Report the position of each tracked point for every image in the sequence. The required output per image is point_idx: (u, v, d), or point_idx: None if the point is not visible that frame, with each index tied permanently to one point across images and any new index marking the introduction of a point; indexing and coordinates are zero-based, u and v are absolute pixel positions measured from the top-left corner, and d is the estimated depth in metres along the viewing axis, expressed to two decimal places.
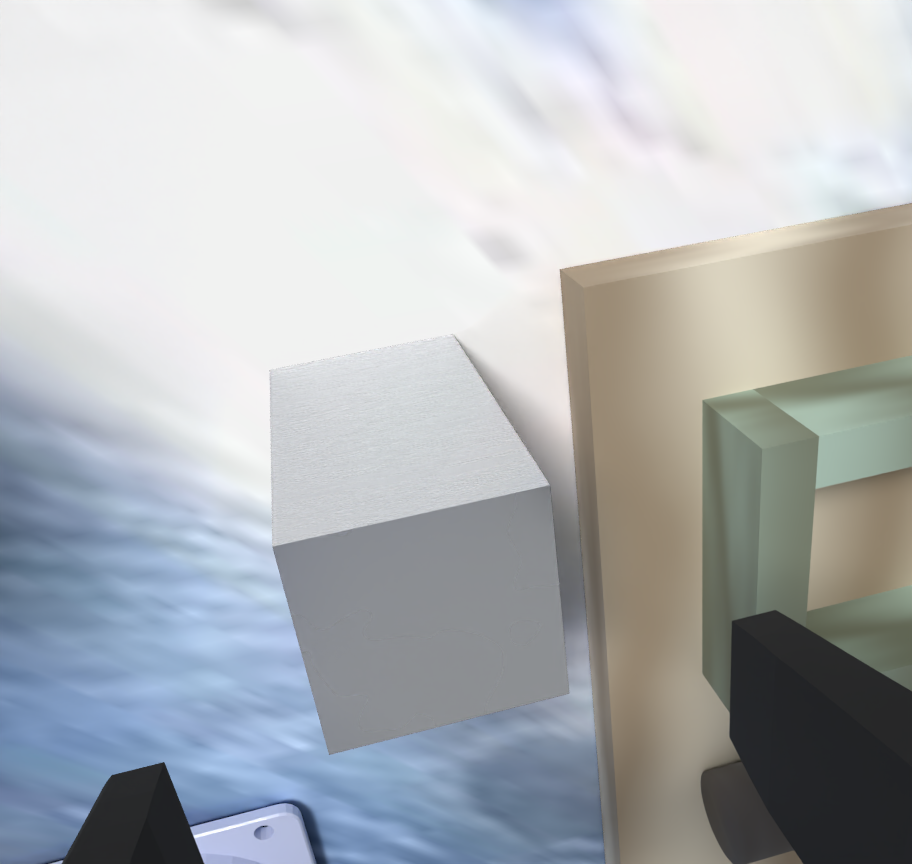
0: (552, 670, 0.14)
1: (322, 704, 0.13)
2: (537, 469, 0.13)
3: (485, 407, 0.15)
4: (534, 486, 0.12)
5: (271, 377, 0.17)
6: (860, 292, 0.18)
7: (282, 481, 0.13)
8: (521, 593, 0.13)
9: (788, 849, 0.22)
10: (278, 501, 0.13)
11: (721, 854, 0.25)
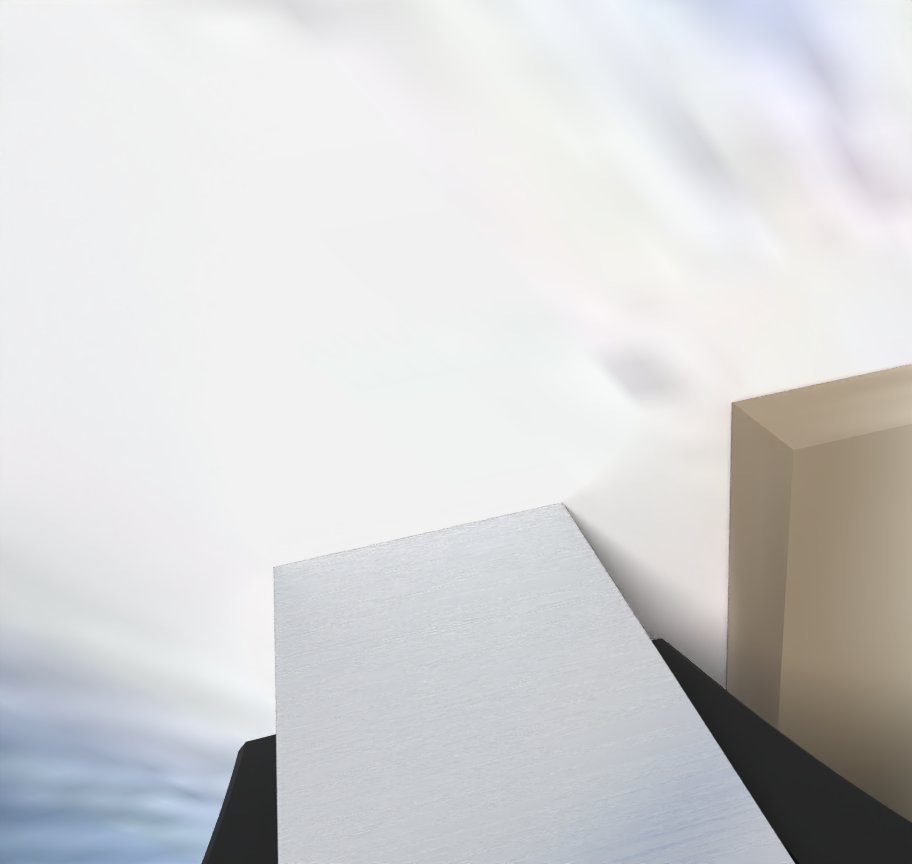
0: None
1: None
2: None
3: (670, 711, 0.08)
4: None
5: (276, 587, 0.11)
6: None
7: None
8: None
9: None
10: None
11: None
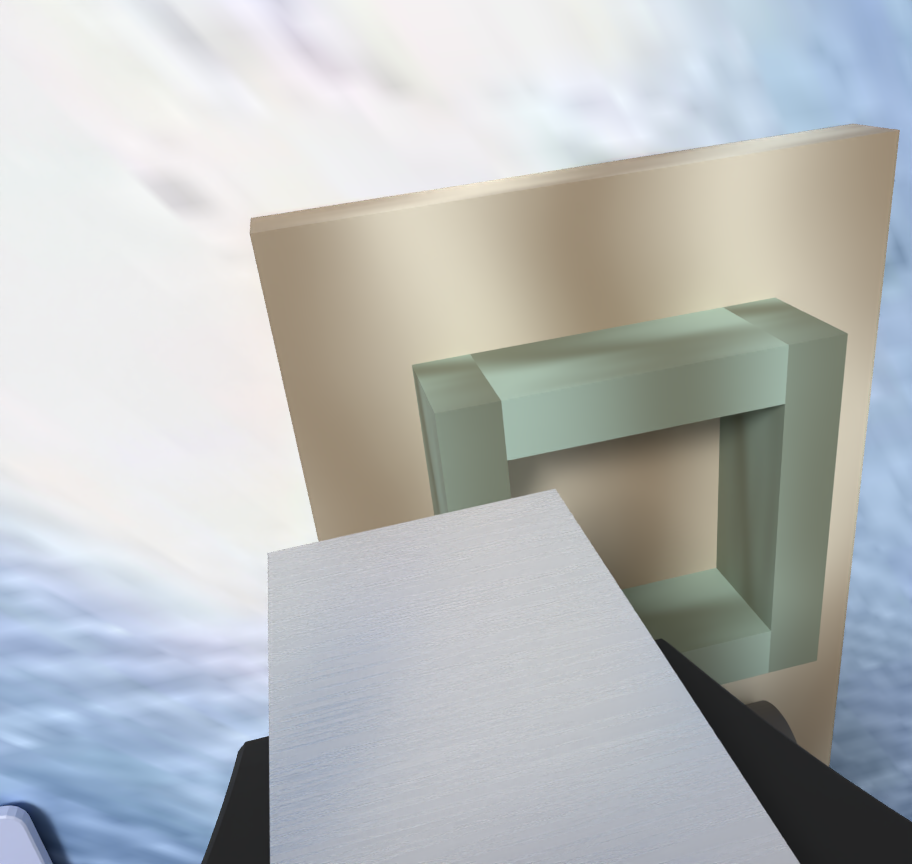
0: None
1: None
2: None
3: (659, 689, 0.08)
4: None
5: (270, 572, 0.11)
6: (580, 248, 0.17)
7: None
8: None
9: None
10: None
11: None
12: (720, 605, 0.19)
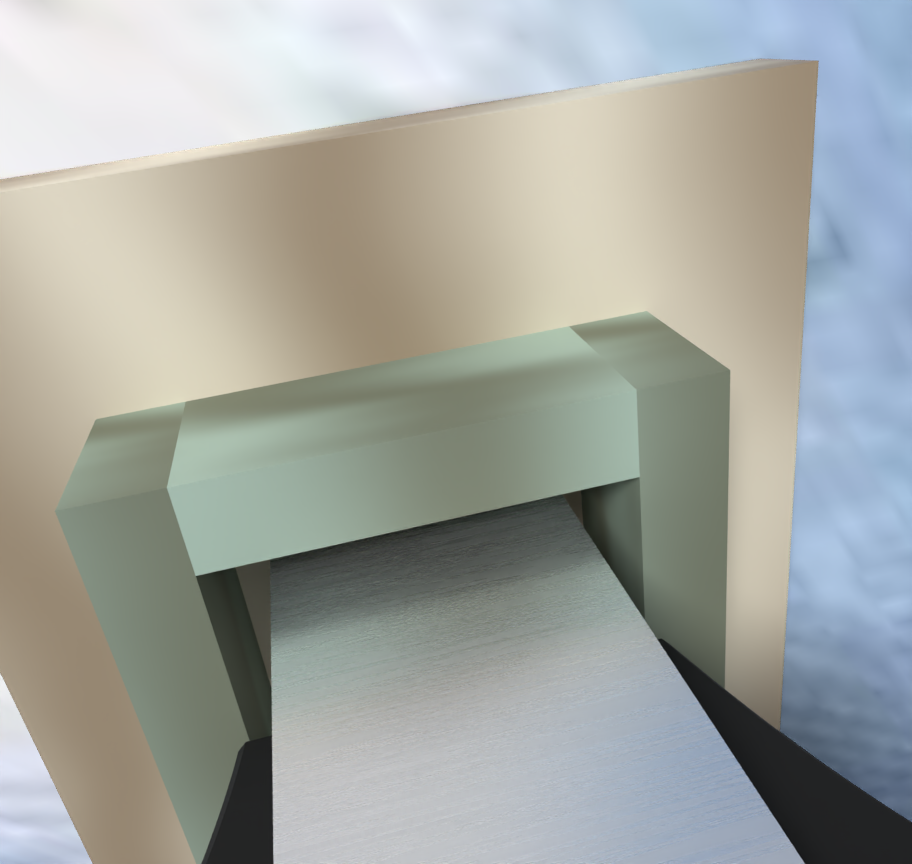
0: None
1: None
2: None
3: (662, 688, 0.08)
4: None
5: (273, 571, 0.11)
6: (337, 243, 0.11)
7: None
8: None
9: None
10: None
11: None
12: None
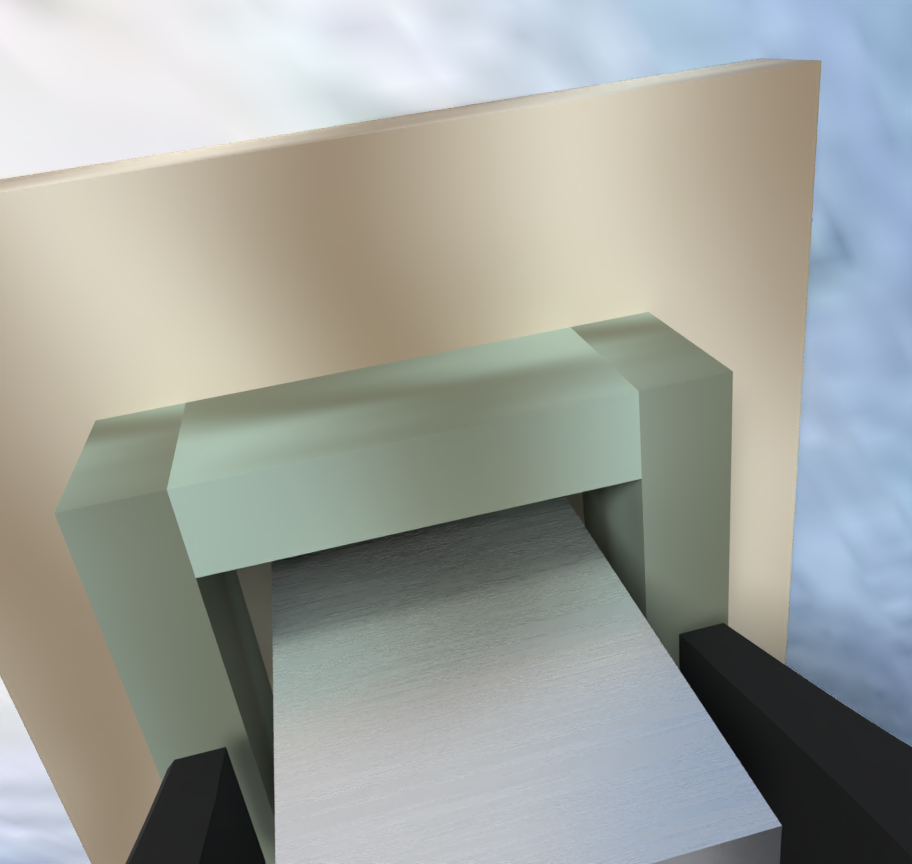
0: None
1: None
2: (744, 776, 0.07)
3: (613, 605, 0.09)
4: (750, 823, 0.07)
5: None
6: (338, 243, 0.11)
7: (293, 770, 0.08)
8: None
9: None
10: (286, 827, 0.07)
11: None
12: None
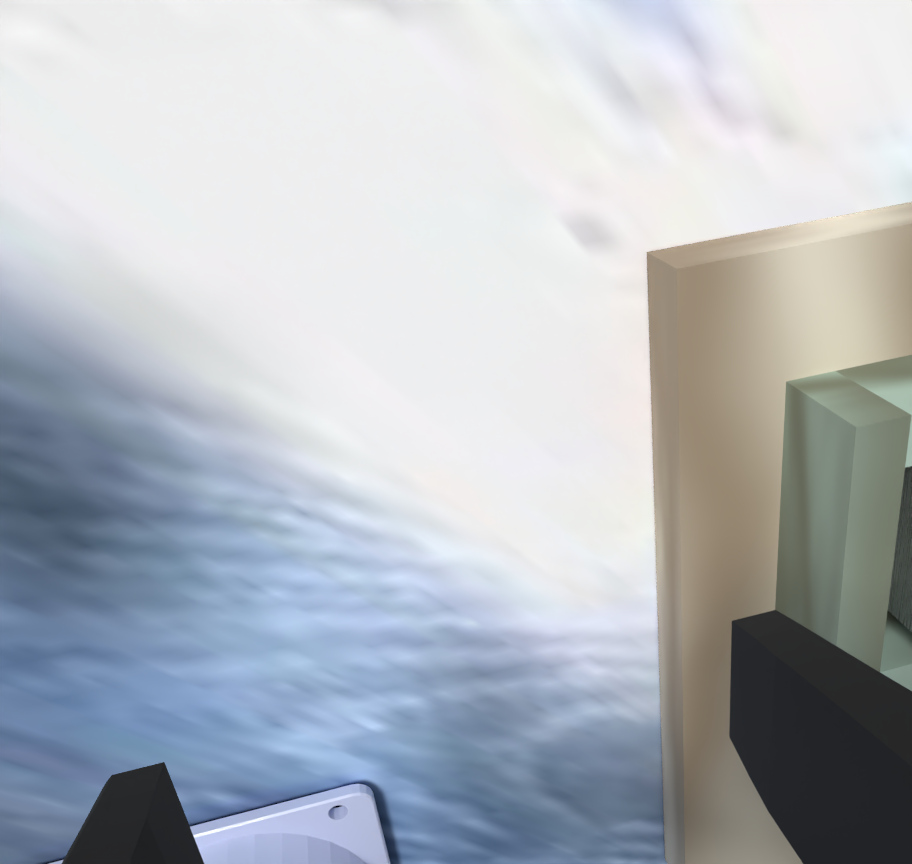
0: None
1: None
2: None
3: None
4: None
5: None
6: None
7: None
8: None
9: None
10: None
11: (782, 836, 0.26)
12: None
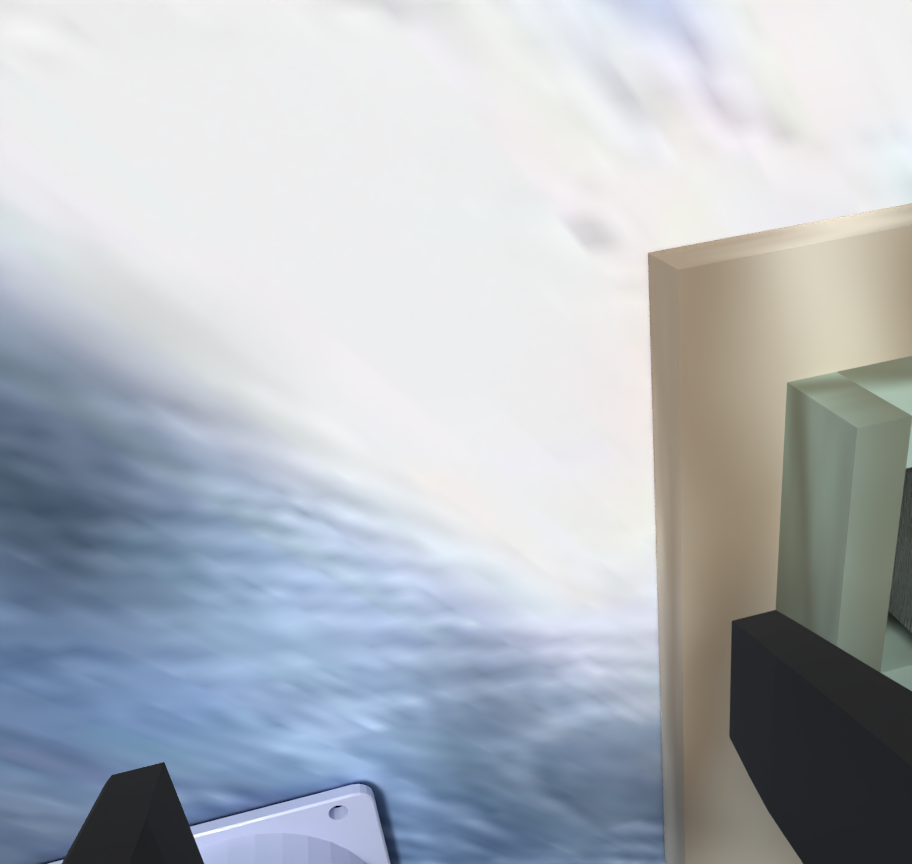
0: None
1: None
2: None
3: None
4: None
5: None
6: None
7: None
8: None
9: None
10: None
11: (782, 836, 0.26)
12: None
